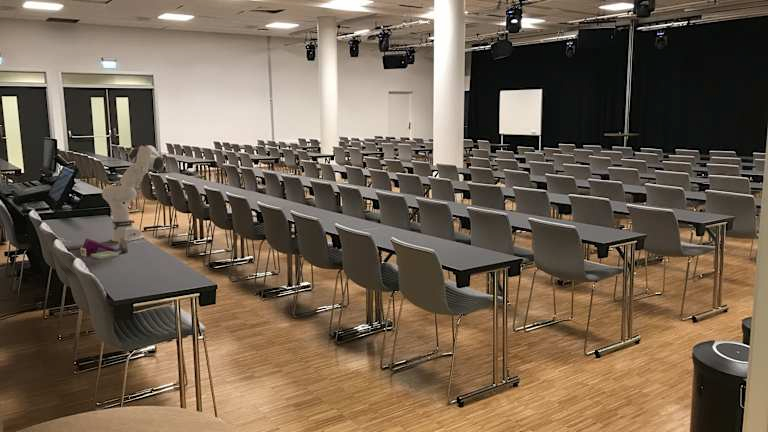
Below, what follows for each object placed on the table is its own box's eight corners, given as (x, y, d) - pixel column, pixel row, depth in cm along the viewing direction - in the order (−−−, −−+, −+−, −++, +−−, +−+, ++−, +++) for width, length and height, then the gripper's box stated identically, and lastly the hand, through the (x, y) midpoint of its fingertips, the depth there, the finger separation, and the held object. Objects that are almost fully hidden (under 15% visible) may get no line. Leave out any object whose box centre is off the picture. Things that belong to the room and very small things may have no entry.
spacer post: (125, 251, 423) (124, 238, 422) (128, 252, 421) (128, 239, 419) (119, 252, 420) (119, 239, 419) (123, 253, 418) (122, 239, 416)
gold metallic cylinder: (124, 247, 436) (123, 237, 434) (127, 248, 433) (127, 238, 432) (117, 248, 432) (117, 238, 431) (121, 249, 429) (120, 239, 428)
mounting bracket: (108, 258, 429) (81, 250, 419) (113, 247, 430) (86, 238, 420) (110, 261, 421) (82, 252, 411) (115, 249, 422) (88, 240, 412)
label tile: (81, 255, 413) (81, 247, 412) (86, 256, 409) (86, 248, 408) (80, 255, 412) (80, 247, 412) (85, 256, 409) (85, 248, 408)
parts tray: (108, 253, 417) (108, 250, 417) (118, 256, 410) (118, 253, 410) (90, 256, 408) (90, 254, 408) (100, 259, 401) (100, 256, 400)
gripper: (147, 166, 418) (143, 186, 415) (144, 173, 436) (140, 192, 433) (137, 164, 415) (133, 184, 412) (134, 170, 433) (130, 190, 430)
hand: (136, 188), depth 423 cm, fingers open, 8 cm apart
